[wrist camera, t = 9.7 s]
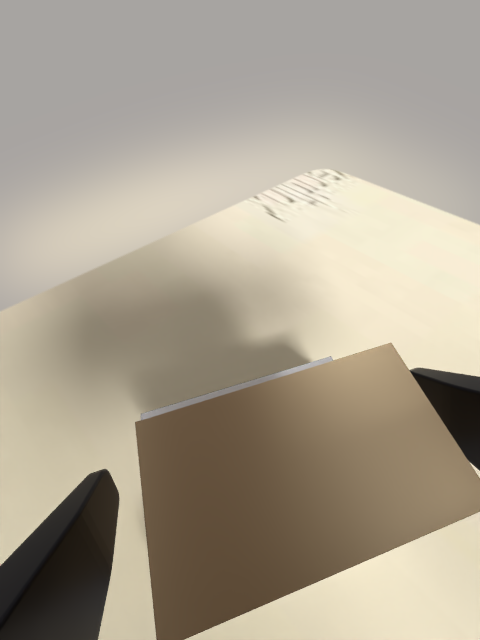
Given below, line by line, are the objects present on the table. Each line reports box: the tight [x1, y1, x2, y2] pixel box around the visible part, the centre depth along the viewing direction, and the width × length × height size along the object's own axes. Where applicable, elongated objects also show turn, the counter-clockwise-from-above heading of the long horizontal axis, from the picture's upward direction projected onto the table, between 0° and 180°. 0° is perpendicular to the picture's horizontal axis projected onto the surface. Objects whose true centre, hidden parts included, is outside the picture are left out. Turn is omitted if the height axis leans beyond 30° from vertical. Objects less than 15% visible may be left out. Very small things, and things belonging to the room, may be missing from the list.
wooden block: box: [135, 343, 480, 640], centre depth 9 cm, size 6×3×11 cm, turn 107°
